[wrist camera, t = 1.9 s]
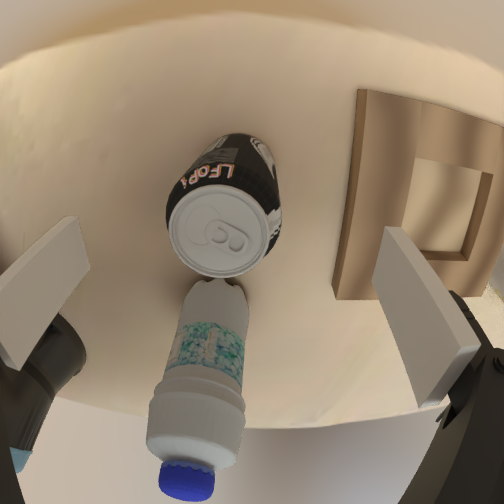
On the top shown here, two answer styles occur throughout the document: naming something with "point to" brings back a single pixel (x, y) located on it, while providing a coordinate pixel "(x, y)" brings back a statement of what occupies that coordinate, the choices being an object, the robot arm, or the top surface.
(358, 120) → the socket block
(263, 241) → the beverage can
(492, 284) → the cup
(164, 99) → the top surface
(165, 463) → the bottle
